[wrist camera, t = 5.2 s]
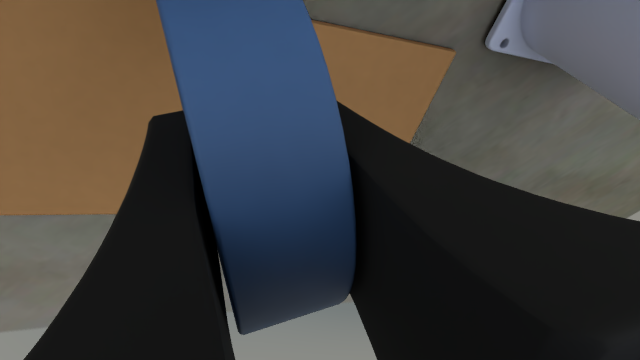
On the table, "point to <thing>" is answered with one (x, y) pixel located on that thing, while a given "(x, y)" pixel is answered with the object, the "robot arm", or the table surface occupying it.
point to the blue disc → (266, 153)
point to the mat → (148, 95)
